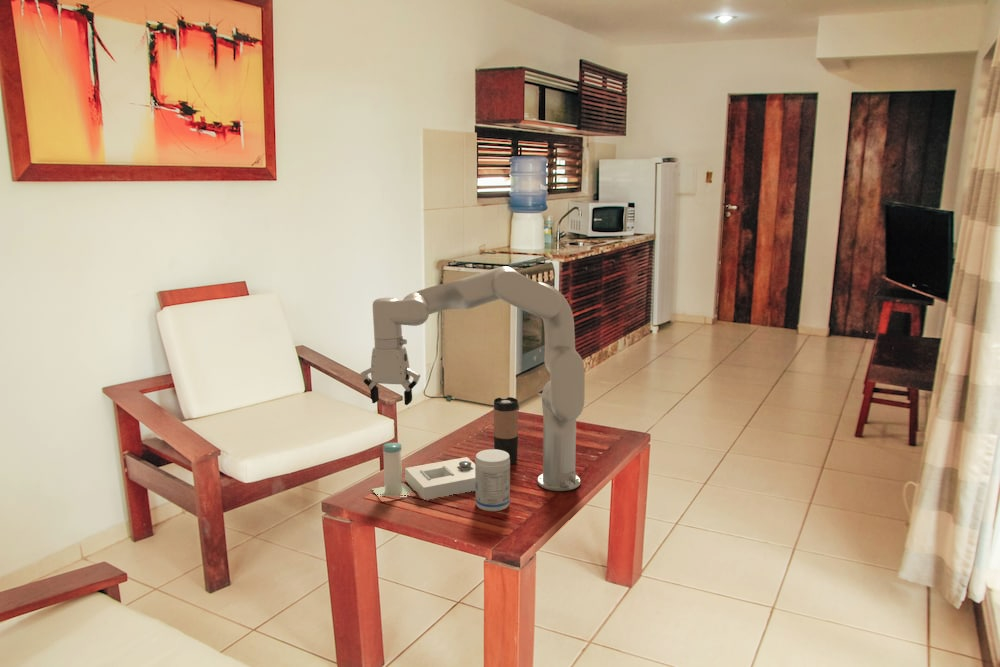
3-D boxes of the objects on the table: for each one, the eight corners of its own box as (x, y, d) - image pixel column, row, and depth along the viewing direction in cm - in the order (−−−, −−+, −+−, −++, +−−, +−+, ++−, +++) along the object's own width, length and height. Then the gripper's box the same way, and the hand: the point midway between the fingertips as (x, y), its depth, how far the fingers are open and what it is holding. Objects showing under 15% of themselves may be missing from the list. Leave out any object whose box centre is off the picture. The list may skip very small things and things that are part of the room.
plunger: (473, 479, 225) (473, 464, 224) (462, 481, 224) (461, 466, 223) (468, 475, 228) (468, 460, 228) (457, 477, 227) (457, 462, 226)
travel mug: (508, 467, 237) (508, 405, 233) (489, 461, 241) (488, 401, 237) (522, 459, 243) (522, 399, 238) (503, 454, 247) (503, 395, 243)
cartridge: (405, 489, 220) (404, 443, 217) (398, 496, 215) (397, 449, 212) (388, 487, 221) (386, 441, 218) (381, 494, 216) (379, 448, 213)
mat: (415, 496, 215) (415, 495, 215) (381, 503, 211) (381, 502, 211) (404, 483, 224) (404, 482, 224) (371, 489, 220) (371, 488, 220)
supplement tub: (474, 498, 214) (473, 449, 211) (508, 497, 215) (507, 447, 212) (476, 513, 204) (476, 462, 201) (511, 512, 205) (511, 460, 202)
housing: (488, 487, 221) (488, 474, 220) (424, 501, 212) (423, 486, 212) (466, 469, 235) (466, 456, 234) (405, 480, 226) (404, 467, 226)
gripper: (422, 341, 210) (425, 400, 214) (364, 339, 214) (368, 397, 218) (413, 347, 203) (416, 408, 207) (353, 345, 207) (357, 405, 211)
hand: (391, 402), depth 212 cm, fingers open, 9 cm apart
